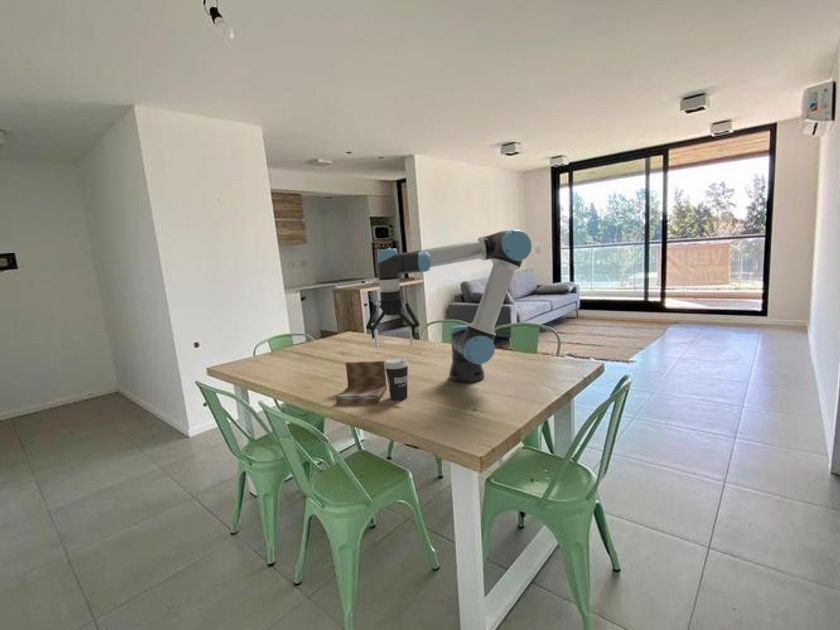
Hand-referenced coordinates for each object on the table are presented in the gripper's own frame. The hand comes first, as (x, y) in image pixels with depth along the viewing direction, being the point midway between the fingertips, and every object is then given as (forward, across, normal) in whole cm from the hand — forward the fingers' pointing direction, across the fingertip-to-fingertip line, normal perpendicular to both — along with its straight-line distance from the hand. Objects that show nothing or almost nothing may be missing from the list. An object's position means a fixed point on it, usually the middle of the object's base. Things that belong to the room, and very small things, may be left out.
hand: (394, 345), depth 162 cm
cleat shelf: (+21, +15, -3) cm, 26 cm away
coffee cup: (+21, 0, 0) cm, 21 cm away
